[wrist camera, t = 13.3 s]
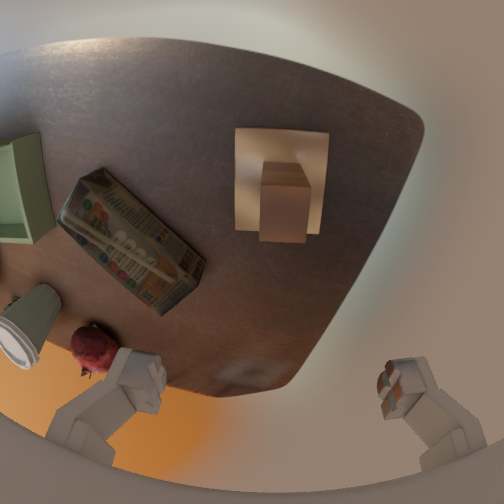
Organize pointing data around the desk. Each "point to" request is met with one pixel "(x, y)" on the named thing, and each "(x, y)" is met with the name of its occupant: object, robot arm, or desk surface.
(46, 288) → the disposable coffee cup
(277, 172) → the brown wooden block
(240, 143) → the board
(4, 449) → the robot arm
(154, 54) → the desk surface
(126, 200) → the beverage carton
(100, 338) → the fruit
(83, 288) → the desk surface
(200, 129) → the desk surface
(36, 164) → the green box base
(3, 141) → the lid
